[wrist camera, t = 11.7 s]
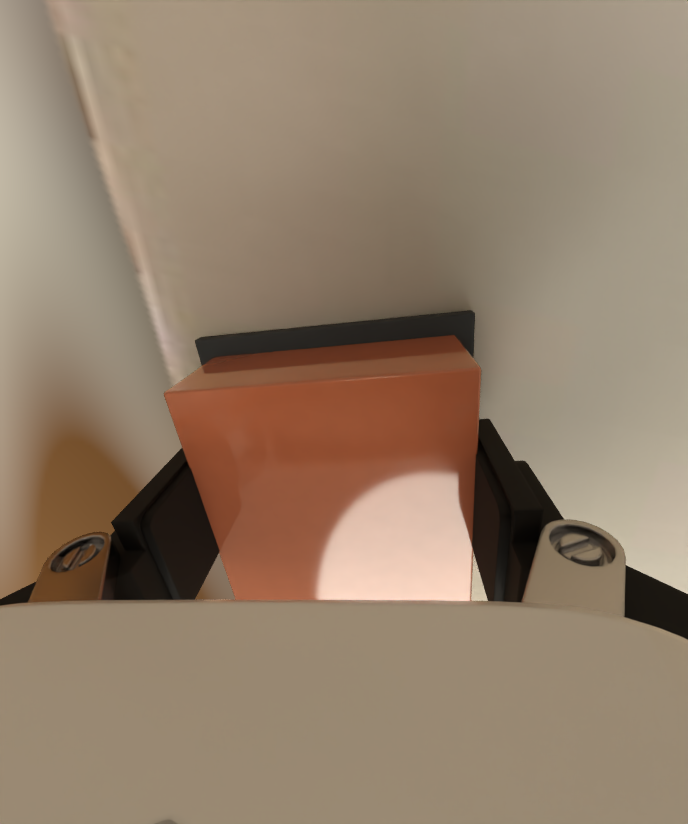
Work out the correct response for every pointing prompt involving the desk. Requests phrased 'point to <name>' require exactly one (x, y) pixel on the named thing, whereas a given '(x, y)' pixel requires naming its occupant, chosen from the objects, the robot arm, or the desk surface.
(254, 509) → the orange flat block
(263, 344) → the mat
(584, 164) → the desk surface
